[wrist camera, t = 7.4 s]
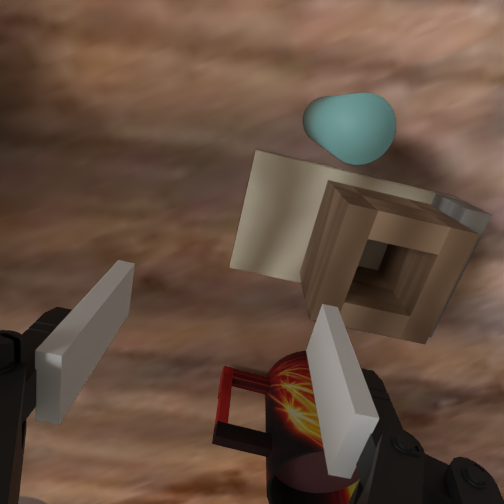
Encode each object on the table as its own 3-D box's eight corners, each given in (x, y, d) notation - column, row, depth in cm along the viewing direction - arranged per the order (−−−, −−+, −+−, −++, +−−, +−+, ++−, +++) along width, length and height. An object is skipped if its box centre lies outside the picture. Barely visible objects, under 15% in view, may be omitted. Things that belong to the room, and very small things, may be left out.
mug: (221, 358, 40) (205, 458, 29) (350, 345, 39) (385, 443, 28) (235, 425, 43) (226, 536, 32) (353, 414, 42) (386, 526, 31)
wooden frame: (230, 263, 35) (224, 293, 30) (256, 148, 31) (254, 158, 26) (407, 302, 37) (433, 337, 31) (454, 196, 32) (494, 215, 27)
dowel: (297, 137, 31) (318, 156, 20) (309, 91, 30) (338, 84, 18) (338, 147, 31) (381, 171, 20) (352, 102, 30) (406, 102, 19)
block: (299, 273, 34) (309, 319, 27) (328, 179, 31) (348, 203, 24) (390, 293, 35) (424, 344, 28) (428, 203, 32) (479, 234, 24)
